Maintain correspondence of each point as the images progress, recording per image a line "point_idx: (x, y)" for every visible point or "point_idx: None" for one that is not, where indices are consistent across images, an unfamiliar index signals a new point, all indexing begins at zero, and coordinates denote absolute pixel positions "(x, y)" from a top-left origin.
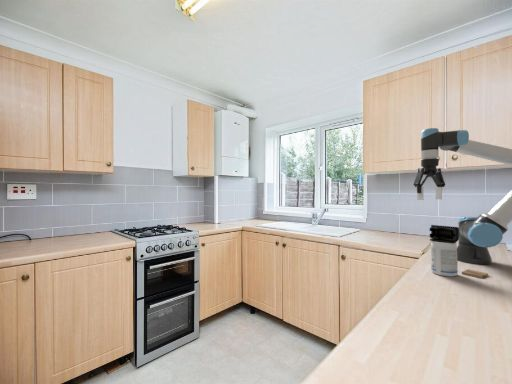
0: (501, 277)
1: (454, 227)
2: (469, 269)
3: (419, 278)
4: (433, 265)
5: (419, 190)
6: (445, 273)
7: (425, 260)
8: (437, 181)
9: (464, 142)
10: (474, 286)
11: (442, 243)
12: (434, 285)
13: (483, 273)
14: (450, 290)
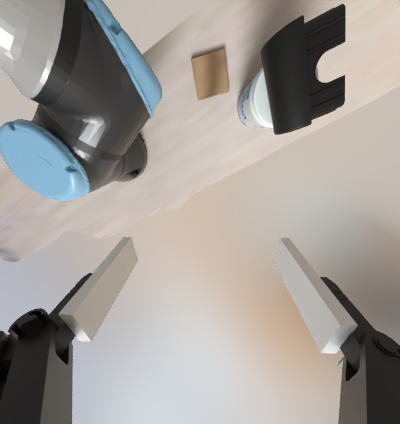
0: (177, 40)
1: (303, 31)
2: (198, 97)
3: None
4: None
5: (347, 298)
6: None
7: (203, 183)
8: (50, 419)
9: None
10: (293, 13)
11: (317, 70)
12: (354, 52)
13: (200, 62)
14: (363, 11)
